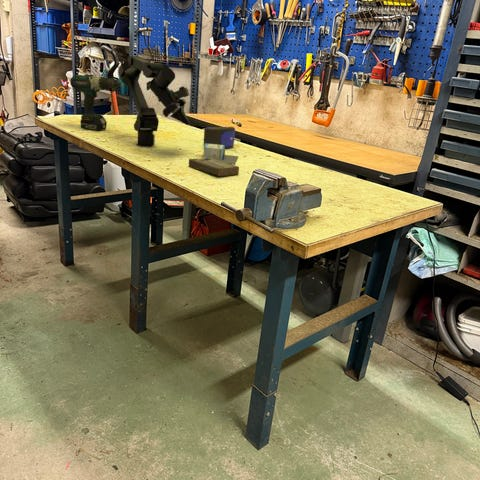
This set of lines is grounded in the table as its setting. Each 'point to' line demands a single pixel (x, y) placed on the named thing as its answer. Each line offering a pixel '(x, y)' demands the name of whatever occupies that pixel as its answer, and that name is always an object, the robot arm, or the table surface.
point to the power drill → (92, 98)
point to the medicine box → (214, 151)
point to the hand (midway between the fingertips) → (188, 124)
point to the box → (214, 166)
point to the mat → (229, 159)
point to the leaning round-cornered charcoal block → (220, 136)
